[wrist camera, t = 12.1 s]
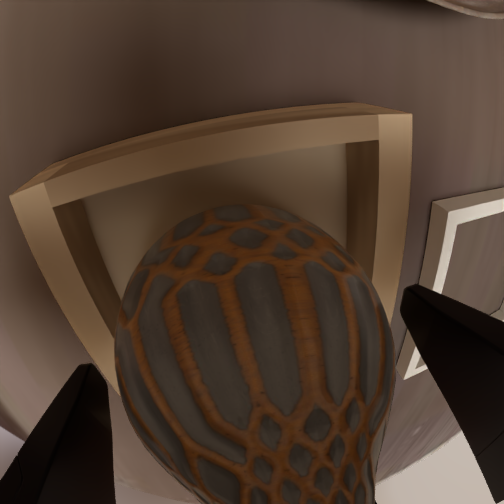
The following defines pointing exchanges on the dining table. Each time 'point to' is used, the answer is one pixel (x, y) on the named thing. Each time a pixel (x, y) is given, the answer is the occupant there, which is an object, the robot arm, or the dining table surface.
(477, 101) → the dining table surface
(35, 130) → the dining table surface
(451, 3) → the plant saucer
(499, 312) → the white square frame
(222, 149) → the pallet
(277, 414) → the vase
